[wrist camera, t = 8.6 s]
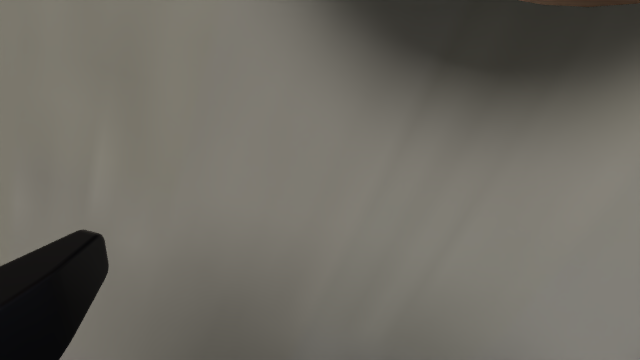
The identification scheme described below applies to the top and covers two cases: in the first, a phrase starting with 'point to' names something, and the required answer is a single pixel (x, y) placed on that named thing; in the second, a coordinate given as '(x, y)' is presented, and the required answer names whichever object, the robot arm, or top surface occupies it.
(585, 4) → the lid
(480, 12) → the top surface
